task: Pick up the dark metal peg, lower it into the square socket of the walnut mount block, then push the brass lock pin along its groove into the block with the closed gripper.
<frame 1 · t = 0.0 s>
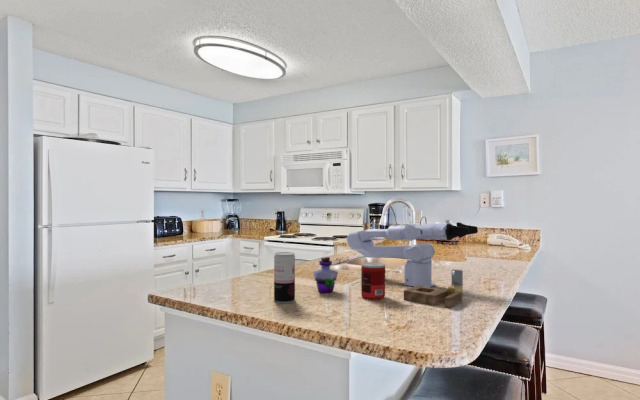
hand: (473, 230, 135), 22 cm above the counter, tool horizontal, fingers open, 7 cm apart
mount: (431, 300, 126), on the counter
potion bottle: (325, 292, 137), on the counter
lock pin: (455, 292, 128), point 2 cm above the counter, slide at 0.0 cm
beverage can: (284, 301, 125), on the counter
peg: (457, 294, 134), on the counter
canned food: (373, 298, 129), on the counter
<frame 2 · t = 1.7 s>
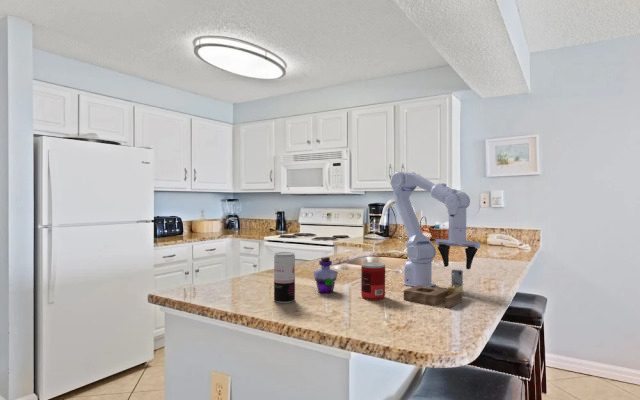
hand: (457, 267, 134), 9 cm above the counter, tool pointing down, fingers open, 7 cm apart
nothing on the counter moved.
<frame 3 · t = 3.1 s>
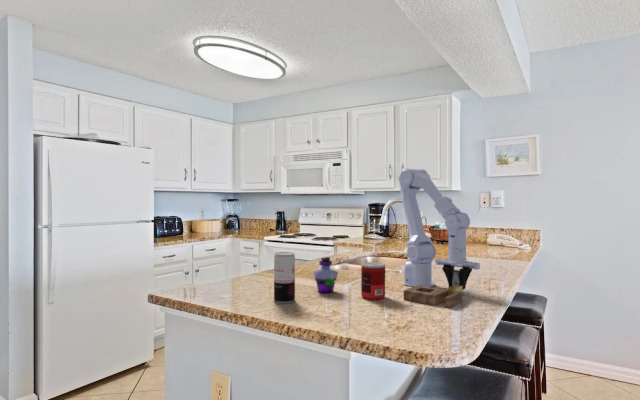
hand: (457, 288, 134), 2 cm above the counter, tool pointing down, fingers closed on peg, 4 cm apart
peg: (457, 293, 134), on the counter, touching gripper
everything else where it was.
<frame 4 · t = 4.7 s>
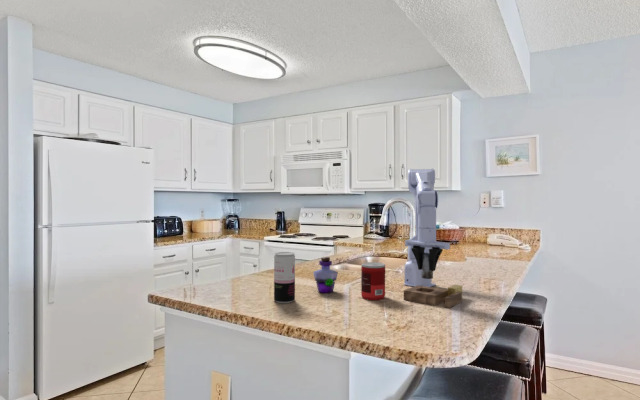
hand: (426, 270, 127), 9 cm above the counter, tool pointing down, fingers closed on peg, 4 cm apart
peg: (427, 277, 127), point 7 cm above the counter, touching gripper
everything else where it was.
when the fingers open (4 cm above the counter, at t = 6.5 s): peg drops 1 cm, resting in mount.
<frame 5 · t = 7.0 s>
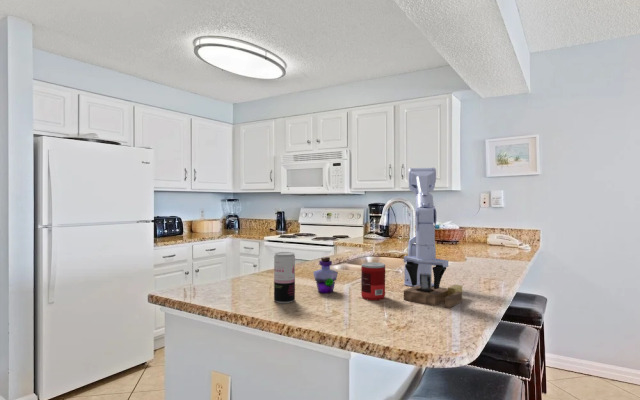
hand: (425, 286, 127), 4 cm above the counter, tool pointing down, fingers open, 7 cm apart
peg: (425, 299, 127), resting in mount
everything else where it was.
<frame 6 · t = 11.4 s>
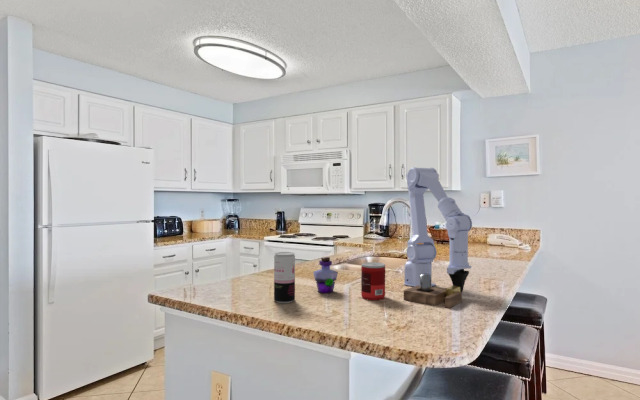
hand: (458, 292, 130), 2 cm above the counter, tool pointing down, fingers closed
lock pin: (453, 293, 126), point 2 cm above the counter, slide at 1.7 cm, touching gripper
everything else where it was.
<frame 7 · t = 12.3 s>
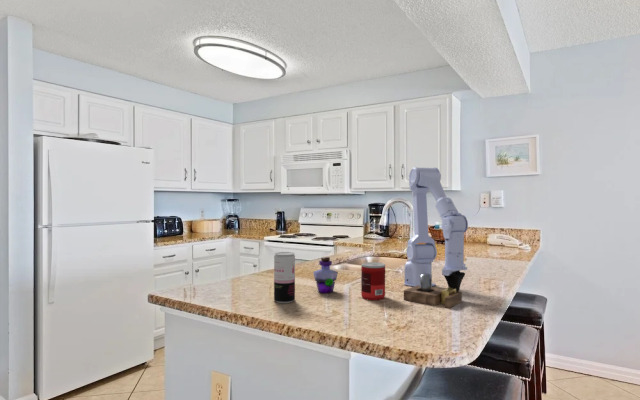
hand: (454, 294, 127), 2 cm above the counter, tool pointing down, fingers closed
lock pin: (448, 295, 124), point 2 cm above the counter, slide at 5.3 cm, touching gripper
everything else where it was.
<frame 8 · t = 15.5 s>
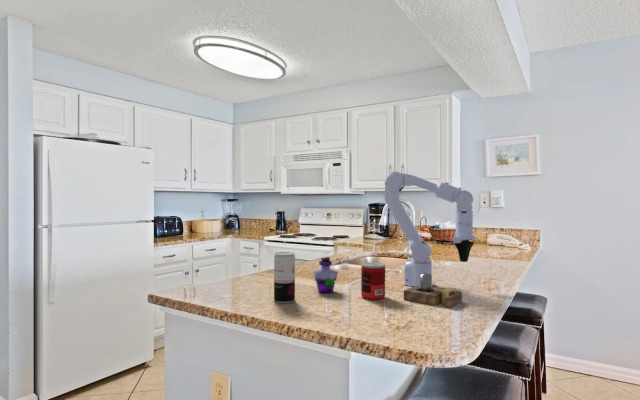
hand: (463, 261, 142), 10 cm above the counter, tool pointing down, fingers closed
lock pin: (448, 295, 123), point 2 cm above the counter, slide at 5.4 cm
everything else where it was.
at the end: peg 0.3 cm from the target spot on the mount, point 0.0 cm above the mount's base; peg tilted 1°; lock pin slide at 5.4 cm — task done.
